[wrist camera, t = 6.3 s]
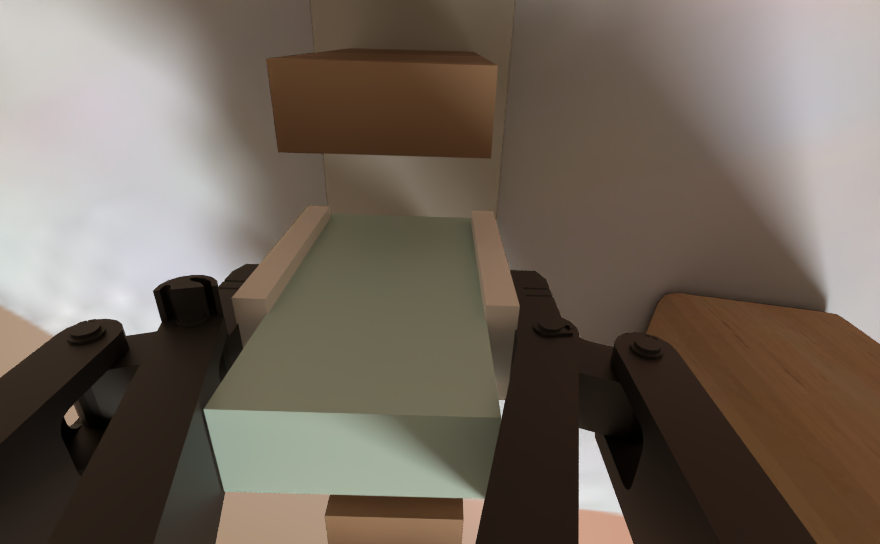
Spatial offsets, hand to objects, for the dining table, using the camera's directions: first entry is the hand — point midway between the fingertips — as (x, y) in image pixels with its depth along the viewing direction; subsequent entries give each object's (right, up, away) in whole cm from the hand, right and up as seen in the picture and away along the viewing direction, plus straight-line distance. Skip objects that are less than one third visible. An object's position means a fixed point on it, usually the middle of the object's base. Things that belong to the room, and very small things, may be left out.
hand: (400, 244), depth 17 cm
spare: (0, 0, 0) cm, 0 cm away
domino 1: (0, +7, +3) cm, 8 cm away
